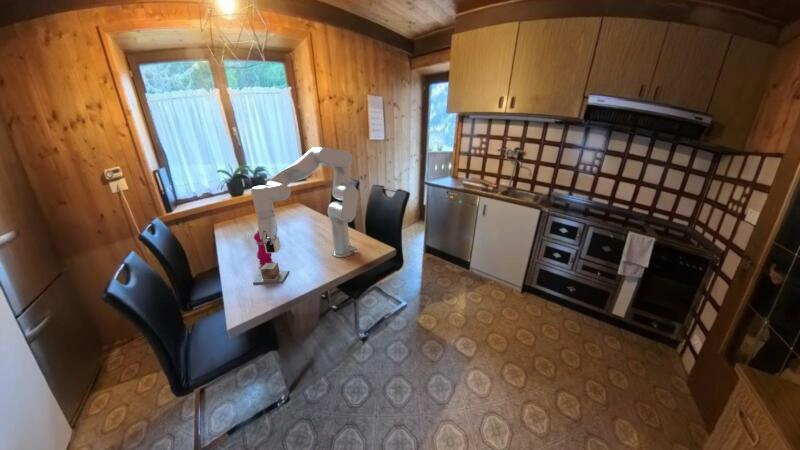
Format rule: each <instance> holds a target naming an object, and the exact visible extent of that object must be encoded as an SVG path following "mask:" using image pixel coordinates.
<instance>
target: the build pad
mask: <svg viewBox="0 0 800 450" xmlns="http://www.w3.org/2000/svg"><path fill="white" fill-rule="evenodd" d="M279 271H280V273H279V275H278V276H277V278H276V279H269V280H263V277H262V273H261V272H260V273H259V275H257V277H256V278H255V279H254V281H253V282H252V284H253V285H263V284H265V285H266V284H267V285H268V284H269V285H270V284H283V283H284V281H285V280H286V278H287V276H288V275H289V274H290V270H279Z"/></svg>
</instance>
